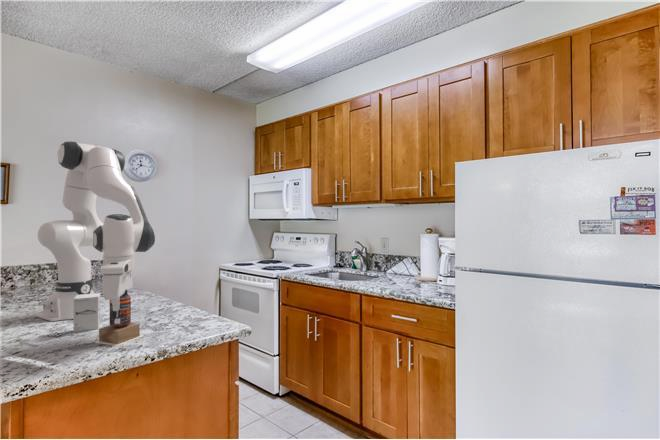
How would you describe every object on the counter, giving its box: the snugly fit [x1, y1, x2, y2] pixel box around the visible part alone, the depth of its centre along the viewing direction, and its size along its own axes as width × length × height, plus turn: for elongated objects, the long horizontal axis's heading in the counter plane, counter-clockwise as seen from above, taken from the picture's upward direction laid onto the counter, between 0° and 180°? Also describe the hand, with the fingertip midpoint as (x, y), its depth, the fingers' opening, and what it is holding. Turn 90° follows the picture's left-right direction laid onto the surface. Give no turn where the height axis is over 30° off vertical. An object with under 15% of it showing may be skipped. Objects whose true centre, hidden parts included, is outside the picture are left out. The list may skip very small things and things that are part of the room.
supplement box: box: [72, 292, 102, 334], centre depth 126 cm, size 7×7×13 cm
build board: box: [93, 334, 145, 347], centre depth 116 cm, size 18×14×1 cm
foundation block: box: [98, 322, 141, 344], centre depth 114 cm, size 8×8×4 cm
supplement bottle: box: [108, 289, 132, 327], centre depth 115 cm, size 6×6×11 cm
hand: (119, 307), depth 115 cm, fingers closed on supplement bottle, 6 cm apart
